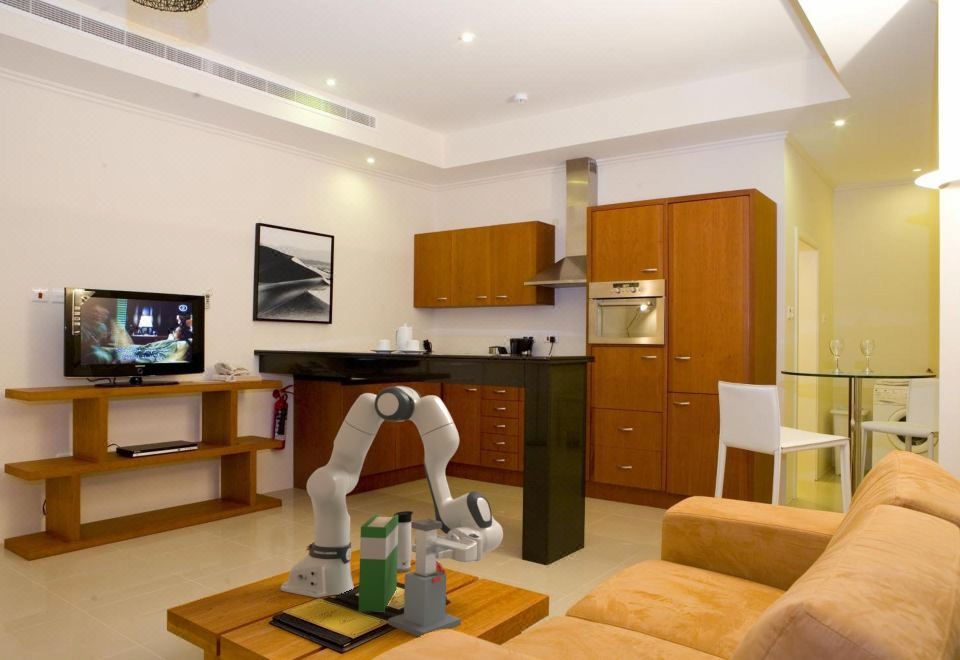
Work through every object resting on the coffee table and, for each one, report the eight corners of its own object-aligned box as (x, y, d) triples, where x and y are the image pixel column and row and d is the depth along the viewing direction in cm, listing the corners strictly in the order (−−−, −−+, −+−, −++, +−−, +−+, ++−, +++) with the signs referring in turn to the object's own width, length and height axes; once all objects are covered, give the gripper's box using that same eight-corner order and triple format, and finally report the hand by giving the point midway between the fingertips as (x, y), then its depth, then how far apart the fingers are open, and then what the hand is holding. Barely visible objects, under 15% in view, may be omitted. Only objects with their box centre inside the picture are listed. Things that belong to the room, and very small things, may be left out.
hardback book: (373, 592, 214) (375, 514, 215) (396, 593, 213) (398, 514, 215) (358, 611, 196) (360, 526, 198) (383, 613, 196) (386, 527, 197)
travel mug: (408, 573, 234) (409, 513, 235) (389, 571, 236) (391, 512, 237) (413, 567, 240) (414, 510, 242) (395, 566, 242) (397, 508, 243)
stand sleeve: (388, 624, 187) (389, 573, 188) (425, 611, 197) (426, 563, 198) (423, 638, 178) (424, 585, 178) (460, 624, 188) (461, 574, 189)
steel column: (409, 616, 188) (411, 521, 189) (425, 611, 192) (427, 518, 193) (424, 622, 183) (426, 525, 185) (440, 616, 188) (442, 522, 189)
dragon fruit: (421, 596, 215) (434, 590, 227) (443, 581, 214) (454, 576, 226) (408, 572, 218) (421, 567, 229) (430, 557, 217) (441, 553, 228)
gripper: (435, 526, 206) (400, 533, 196) (486, 538, 192) (451, 547, 182) (434, 547, 206) (399, 556, 195) (485, 561, 192) (450, 571, 182)
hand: (425, 552), depth 188 cm, fingers open, 8 cm apart
